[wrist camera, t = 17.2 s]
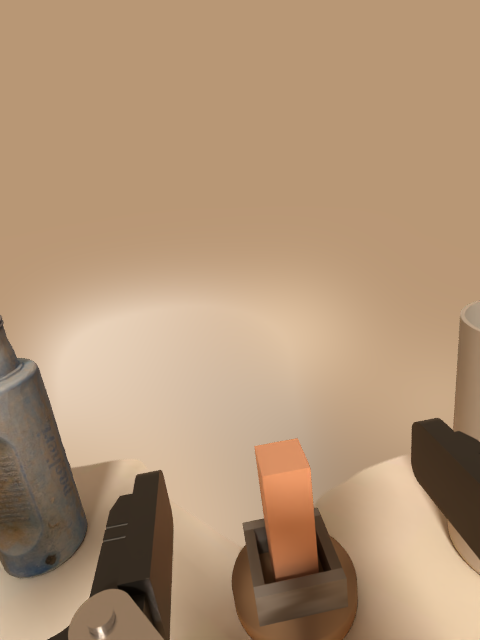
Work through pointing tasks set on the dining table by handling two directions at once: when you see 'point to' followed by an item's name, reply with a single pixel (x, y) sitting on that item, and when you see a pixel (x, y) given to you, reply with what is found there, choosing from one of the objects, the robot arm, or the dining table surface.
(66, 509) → the bottle
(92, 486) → the dining table surface
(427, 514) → the dining table surface
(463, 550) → the cylinder vase
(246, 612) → the block holder stand
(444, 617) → the dining table surface
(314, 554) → the post
